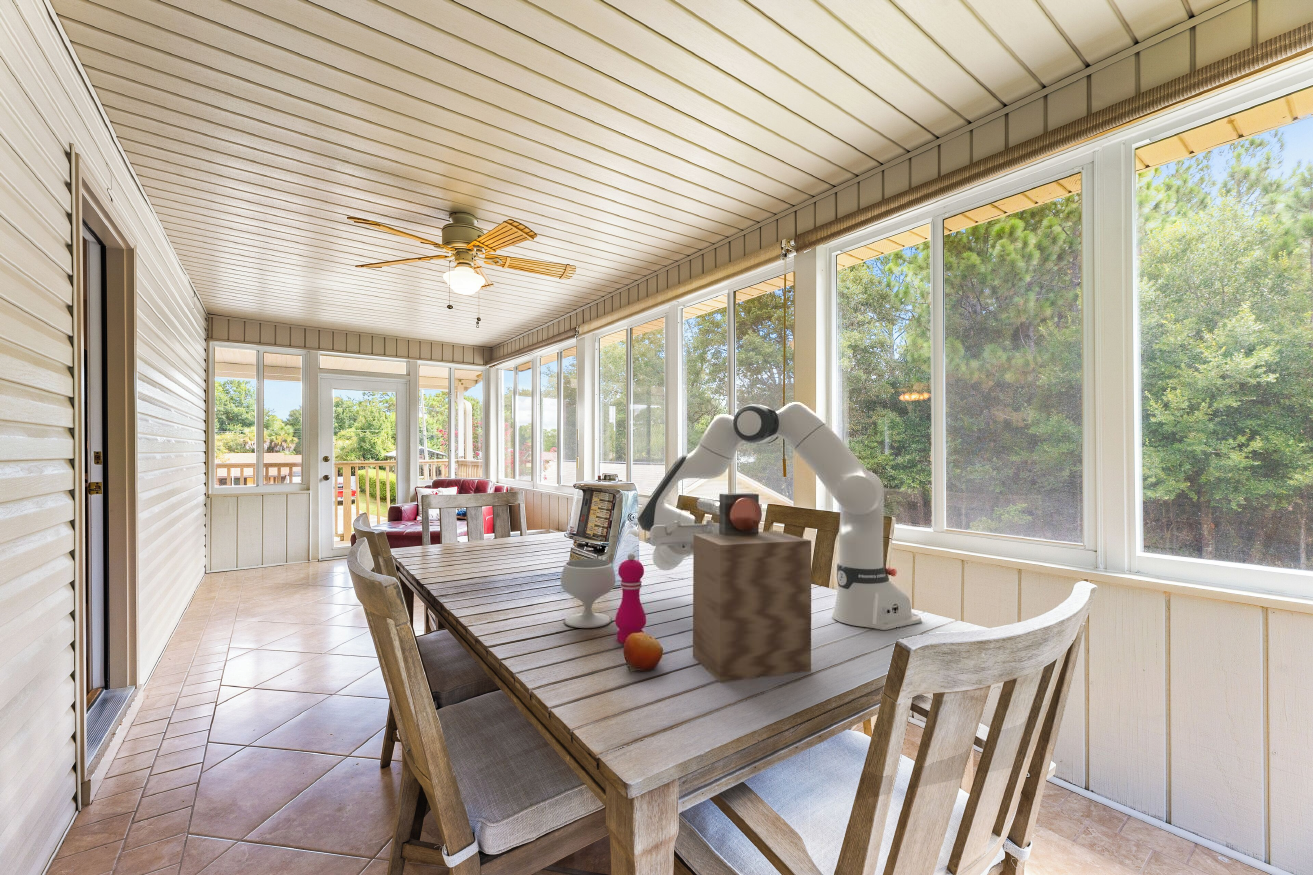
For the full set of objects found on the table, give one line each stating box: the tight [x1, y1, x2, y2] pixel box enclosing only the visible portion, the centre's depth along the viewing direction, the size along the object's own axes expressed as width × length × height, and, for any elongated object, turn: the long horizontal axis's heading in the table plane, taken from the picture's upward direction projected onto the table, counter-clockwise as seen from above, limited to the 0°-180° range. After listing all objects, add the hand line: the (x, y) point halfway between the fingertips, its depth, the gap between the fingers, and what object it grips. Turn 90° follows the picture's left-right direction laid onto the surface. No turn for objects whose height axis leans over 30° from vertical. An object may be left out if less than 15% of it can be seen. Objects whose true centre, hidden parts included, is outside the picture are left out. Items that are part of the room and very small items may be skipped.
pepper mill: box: [614, 552, 647, 644], centre depth 130 cm, size 7×7×20 cm
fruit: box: [622, 632, 664, 675], centre depth 113 cm, size 8×8×8 cm
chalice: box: [560, 558, 617, 629], centre depth 143 cm, size 14×14×15 cm
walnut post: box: [692, 492, 812, 683], centre depth 116 cm, size 20×14×35 cm
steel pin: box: [696, 497, 763, 531], centre depth 130 cm, size 7×25×7 cm, turn 18°
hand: (694, 523), depth 146 cm, fingers open, 8 cm apart
